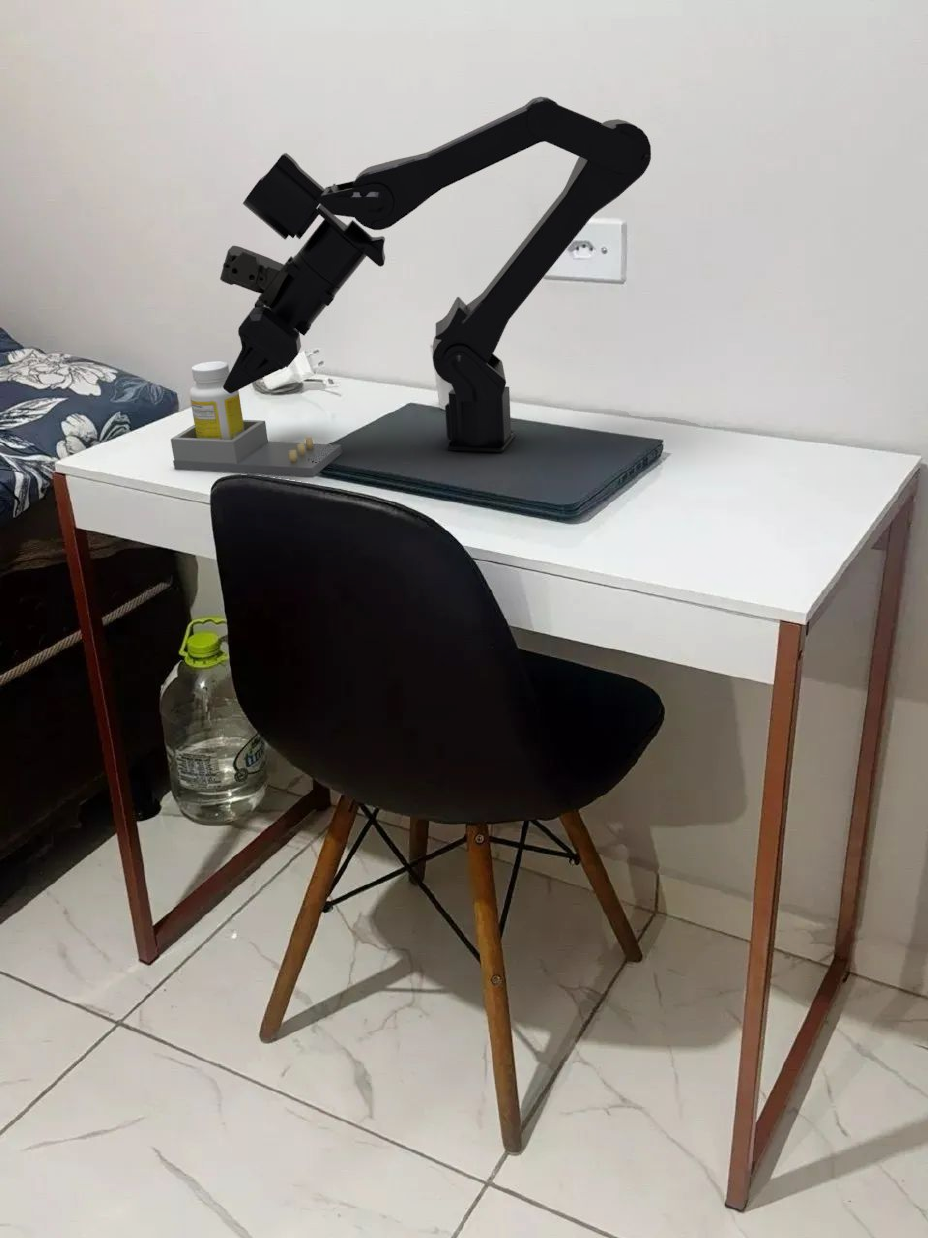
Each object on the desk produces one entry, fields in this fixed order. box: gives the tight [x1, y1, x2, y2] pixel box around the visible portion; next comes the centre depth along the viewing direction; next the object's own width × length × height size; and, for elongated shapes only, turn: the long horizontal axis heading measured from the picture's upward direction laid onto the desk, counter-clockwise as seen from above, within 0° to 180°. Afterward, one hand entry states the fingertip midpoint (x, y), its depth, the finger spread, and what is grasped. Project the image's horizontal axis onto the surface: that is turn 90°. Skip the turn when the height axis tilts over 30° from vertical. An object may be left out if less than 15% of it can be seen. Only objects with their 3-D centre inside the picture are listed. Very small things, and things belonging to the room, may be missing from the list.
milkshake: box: [429, 337, 453, 411], centre depth 146 cm, size 4×5×10 cm
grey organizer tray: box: [170, 419, 343, 478], centre depth 133 cm, size 17×8×4 cm, turn 73°
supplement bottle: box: [189, 360, 245, 440], centre depth 132 cm, size 5×5×10 cm
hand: (233, 379), depth 131 cm, fingers open, 9 cm apart
